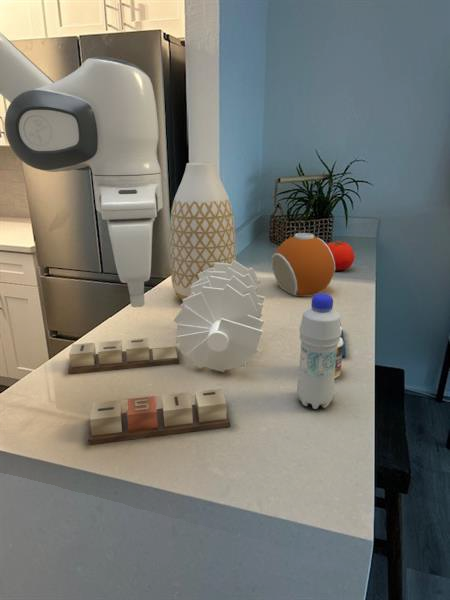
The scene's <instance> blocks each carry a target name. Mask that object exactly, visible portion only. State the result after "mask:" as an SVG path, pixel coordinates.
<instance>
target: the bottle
mask: <svg viewBox="0 0 450 600" xmlns="http://www.w3.org/2000/svg"><path fill="white" fill-rule="evenodd" d="M333 307H334V299H333V297H332V296H331V294H330V295H329V294H327V293H318V294H316V295H312V298H311V307H309V308H306V309H305V310H304V311H303V312H302V318H301V322H300V326H299V340H300V356H299V372H298V378H297V384H296V385H297V386H296V394H297V398H298V400H299V401H301V404H302V405H303V406H305V407H308V406H309V405H311V406H312V409H313V410H317V409H319V407H320V406H321V408H323V409H325V408H327V407H329V405H330V403H331V402H332V400H333V398H334V394H335V378H334V373H335V363H336V353H337V344H338V343H339V341H340V335H341V329H340V326H341V315H340V313H339V312H337V311H336V310H334V309H333Z"/></svg>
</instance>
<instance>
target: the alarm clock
mask: <svg viewBox="0 0 450 600" xmlns="http://www.w3.org/2000/svg"><path fill="white" fill-rule="evenodd" d="M271 269H272V273H273V275H274V277H275V280H276V282H277V284H278V285H279V287H280V289H282V290H284V291H285V292H287V293H289V294H290V295H292V296H298V297H313V296H314V295H316V294H321V293H322V291H323V290H325V289H326V288H327V287H328V286H329V285H330V283H331V281H332V279H333V277H334V275H335V272H336V270H335V261H334V257H333V254H332V252H331V251H330V249H329V247H328V246H327V243H326V241H324V240H323V239H321V238H319V237H317V236H315V235H314V234H313V233H309V232H298V233H295V234H294V236H290V237H289V238H287V239H285V240H284V241H283V242H282V243H281V244H280V245H279V246H278V247H277V248H276V250H275V251H274V252H273V254H272V256H271Z"/></svg>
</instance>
